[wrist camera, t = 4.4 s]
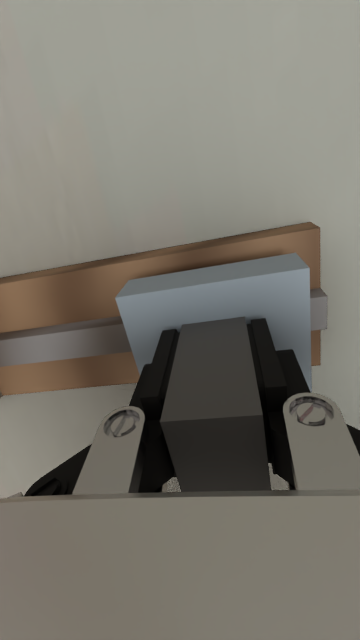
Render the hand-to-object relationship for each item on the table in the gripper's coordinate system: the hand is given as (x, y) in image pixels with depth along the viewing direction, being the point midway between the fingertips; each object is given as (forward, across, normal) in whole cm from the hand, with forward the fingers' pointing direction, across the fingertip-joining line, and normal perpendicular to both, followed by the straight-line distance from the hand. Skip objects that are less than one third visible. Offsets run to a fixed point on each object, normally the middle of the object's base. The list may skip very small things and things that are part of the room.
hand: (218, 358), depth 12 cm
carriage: (+2, 0, 0) cm, 2 cm away
